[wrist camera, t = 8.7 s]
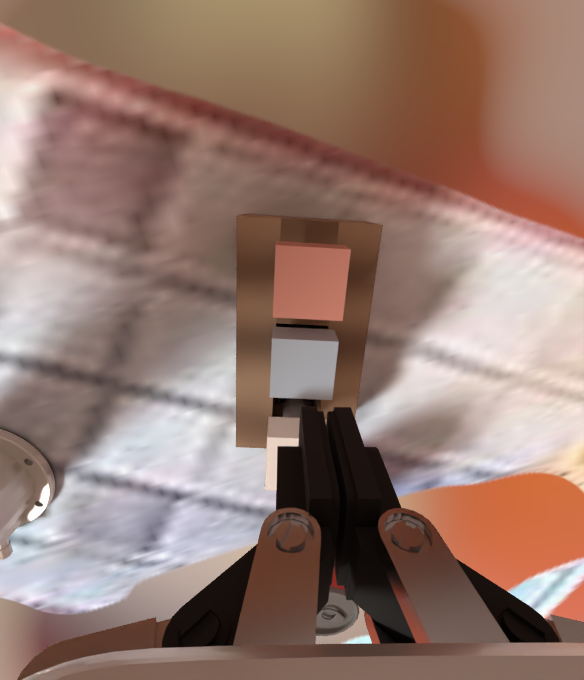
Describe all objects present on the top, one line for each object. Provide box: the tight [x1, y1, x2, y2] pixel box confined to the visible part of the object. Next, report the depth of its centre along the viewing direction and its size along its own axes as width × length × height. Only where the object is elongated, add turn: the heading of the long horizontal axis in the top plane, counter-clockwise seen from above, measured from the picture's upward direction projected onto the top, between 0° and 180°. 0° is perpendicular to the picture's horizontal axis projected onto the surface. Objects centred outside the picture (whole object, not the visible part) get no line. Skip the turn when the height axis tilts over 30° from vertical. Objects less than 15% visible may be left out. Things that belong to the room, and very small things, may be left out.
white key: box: [265, 398, 327, 490], centre depth 27 cm, size 4×4×7 cm
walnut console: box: [236, 214, 382, 448], centre depth 30 cm, size 19×10×5 cm, turn 177°
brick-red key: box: [273, 241, 351, 321], centre depth 25 cm, size 4×4×7 cm
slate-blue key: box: [270, 324, 339, 400], centre depth 28 cm, size 4×4×7 cm
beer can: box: [316, 569, 359, 636], centre depth 34 cm, size 7×7×12 cm
